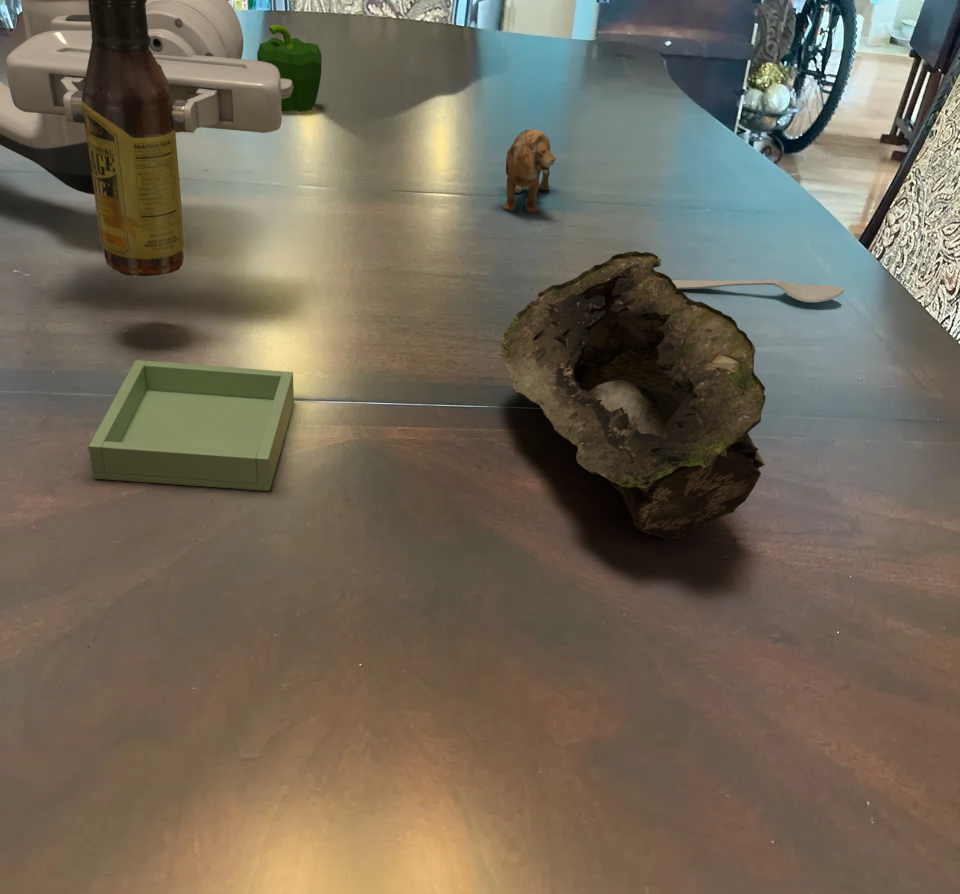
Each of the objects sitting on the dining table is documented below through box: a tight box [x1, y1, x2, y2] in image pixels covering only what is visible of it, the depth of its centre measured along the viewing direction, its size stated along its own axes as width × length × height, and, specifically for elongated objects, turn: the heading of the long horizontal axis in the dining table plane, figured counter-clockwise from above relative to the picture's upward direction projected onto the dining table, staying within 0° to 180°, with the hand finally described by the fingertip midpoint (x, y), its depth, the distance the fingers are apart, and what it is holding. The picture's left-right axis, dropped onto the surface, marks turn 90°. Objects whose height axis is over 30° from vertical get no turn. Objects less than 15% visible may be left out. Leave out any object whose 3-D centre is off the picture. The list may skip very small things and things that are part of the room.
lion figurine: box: [502, 128, 557, 213], centre depth 118 cm, size 15×5×9 cm, turn 176°
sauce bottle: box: [82, 0, 185, 277], centre depth 76 cm, size 6×6×20 cm
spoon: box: [671, 279, 844, 304], centre depth 104 cm, size 4×21×2 cm, turn 88°
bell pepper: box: [256, 24, 323, 113], centre depth 138 cm, size 8×8×10 cm
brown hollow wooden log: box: [500, 250, 766, 541], centre depth 73 cm, size 28×13×15 cm
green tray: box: [88, 359, 295, 492], centre depth 74 cm, size 12×13×2 cm
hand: (127, 115), depth 75 cm, fingers closed on sauce bottle, 6 cm apart
